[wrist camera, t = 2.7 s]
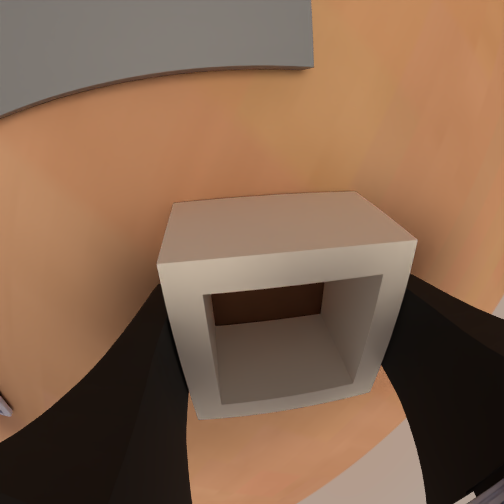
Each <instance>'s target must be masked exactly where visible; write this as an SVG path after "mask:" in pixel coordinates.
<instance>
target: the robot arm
mask: <svg viewBox="0 0 504 504" xmlns="http://www.w3.org/2000/svg"><path fill="white" fill-rule="evenodd" d="M381 365H382V367H383V369H384V371H385V372H386V374H387V376H388V378H389V380H390V381H391V383H392V385H393V387H394V389H395V391H396V393H397V395H398V397H399V399H400V401H401V404H402V406H403V409H404V412H405V414H406V417H407V420H408V422H409V425H410V428H411V432H412V435H413V438H414V441H415V445H416V448H417V452H418V456H419V460H420V465H421V469H422V474H423V480H424V486H425V493H426V503H427V504H454V503H455V502H457V501H459V500H460V499H462V498H464V497H465V496H467V495H468V494H470V493H471V492H473V491H474V493H475V495H476V498H474V499H473V500H472V501H470V502H468V503H467V504H504V319H501V318H498V317H496V316H494V315H491V314H489V313H487V312H484V311H482V310H479V309H477V308H475V307H473V306H471V305H469V304H467V303H465V302H463V301H461V300H459V299H457V298H455V297H453V296H451V295H449V294H447V293H445V292H443V291H441V290H440V289H438V288H436V287H434V286H432V285H430V284H428V283H427V282H425V281H423V280H421V279H419V278H418V277H416V276H414V275H412V274H410V275H409V279H408V282H407V286H406V290H405V293H404V297H403V300H402V304H401V307H400V310H399V314H398V317H397V320H396V323H395V326H394V329H393V332H392V335H391V338H390V341H389V344H388V347H387V349H386V352H385V355H384V358H383V360H382V363H381ZM188 394H189V389H188V386H187V383H186V379H185V376H184V372H183V369H182V366H181V362H180V359H179V355H178V351H177V348H176V344H175V340H174V337H173V333H172V329H171V325H170V321H169V317H168V313H167V309H166V305H165V300H164V296H163V292H162V287H161V284H158V285H157V286H156V288H155V289H154V290H153V292H152V293H151V294H150V296H149V297H148V299H147V300H146V302H145V303H144V304H143V306H142V307H141V309H140V310H139V311H138V313H137V314H136V316H135V317H134V318H133V320H132V321H131V322H130V324H129V325H128V326H127V328H126V329H125V330H124V332H123V333H122V334H121V336H120V337H119V338H118V339H117V341H116V342H115V343H114V344H113V345H112V347H111V348H110V349H109V350H108V352H107V353H106V354H105V355H104V356H103V358H102V359H101V360H100V361H99V362H98V363H97V364H96V365H95V366H94V368H93V369H92V370H91V371H90V372H89V373H88V374H87V375H86V376H85V377H84V378H83V379H82V380H81V381H80V382H79V383H78V384H77V385H76V386H74V387H73V388H72V389H71V390H70V391H69V392H68V393H67V394H65V395H64V396H63V397H62V398H61V399H60V400H59V401H58V402H56V403H55V404H54V405H53V406H52V407H51V408H49V409H48V410H47V411H46V412H44V413H43V414H42V415H41V416H39V417H38V418H37V419H35V420H34V421H33V422H31V423H30V424H28V425H27V426H26V427H24V428H23V429H21V430H20V431H18V432H17V433H15V434H14V435H12V436H11V437H9V438H7V439H6V440H4V441H2V442H1V443H0V504H192V499H191V491H190V482H189V472H188V459H187V445H186V424H187V408H188ZM12 413H13V411H12V409H11V408H10V407H9V406H8V405H7V403H6V402H5V401H4V400H3V399H2V397H1V396H0V414H1V415H5V416H12Z"/></svg>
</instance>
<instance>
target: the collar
mask: <svg viewBox="0 0 504 504" xmlns="http://www.w3.org/2000/svg"><path fill="white" fill-rule="evenodd" d="M417 241H418V240H417V239H416V238H415V237H414V236H413V235H411V234H410V233H409V232H408V231H406V230H405V229H404V228H403V227H402V226H400V225H399V224H398V223H397V222H395V221H394V220H393V219H391V218H390V217H389V216H388V215H386V214H385V213H384V212H382V211H381V210H380V209H379V208H377V207H376V206H375V205H373V204H372V203H371V202H369V201H368V200H367V199H365V198H364V197H363V196H361V195H360V194H358V193H357V192H356V191H346V192H318V193H296V194H278V195H262V196H247V197H234V198H222V199H210V200H199V201H189V202H179V203H173V206H172V210H171V213H170V217H169V220H168V224H167V227H166V231H165V234H164V238H163V241H162V245H161V249H160V253H159V256H158V260H157V269H158V273H159V278H160V283H161V287H162V292H163V296H164V300H165V305H166V309H167V313H168V317H169V321H170V325H171V329H172V333H173V337H174V340H175V344H176V348H177V351H178V355H179V359H180V362H181V366H182V369H183V372H184V376H185V379H186V383H187V386H188V389H189V392H190V395H191V399H192V402H193V405H194V408H195V411H196V414H197V417H198V420H205V419H219V418H230V417H240V416H249V415H257V414H264V413H271V412H278V411H284V410H291V409H296V408H302V407H307V406H312V405H317V404H322V403H327V402H331V401H336V400H340V399H344V398H349V397H353V396H357V395H361V394H364V393H368V392H370V391H371V388H372V386H373V383H374V381H375V378H376V376H377V373H378V371H379V368H380V366H381V363H382V360H383V358H384V355H385V352H386V349H387V347H388V344H389V341H390V338H391V335H392V332H393V329H394V326H395V323H396V320H397V317H398V314H399V310H400V307H401V304H402V300H403V297H404V293H405V290H406V286H407V282H408V279H409V275H410V271H411V267H412V263H413V259H414V254H415V250H416V246H417ZM320 282H324V290H323V299H322V307H321V314H315V315H308V316H301V317H294V318H286V319H278V320H270V321H262V322H253V323H244V324H234V325H224V326H215V320H214V312H213V305H212V297H211V294H217V293H228V292H238V291H248V290H258V289H267V288H277V287H286V286H294V285H303V284H311V283H320Z"/></svg>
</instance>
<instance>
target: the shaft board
mask: <svg viewBox="0 0 504 504" xmlns="http://www.w3.org/2000/svg"><path fill="white" fill-rule="evenodd" d="M313 67H314V58H313V30H312V10H311V0H0V119H1V118H4V117H6V116H9V115H11V114H14V113H16V112H19V111H22V110H24V109H27V108H30V107H33V106H36V105H39V104H42V103H45V102H48V101H51V100H54V99H58V98H61V97H64V96H68V95H72V94H75V93H79V92H83V91H87V90H91V89H95V88H99V87H104V86H108V85H113V84H118V83H123V82H128V81H133V80H139V79H145V78H152V77H158V76H166V75H174V74H182V73H192V72H203V71H218V70H239V69H288V70H305V69H308V68H313Z"/></svg>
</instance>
